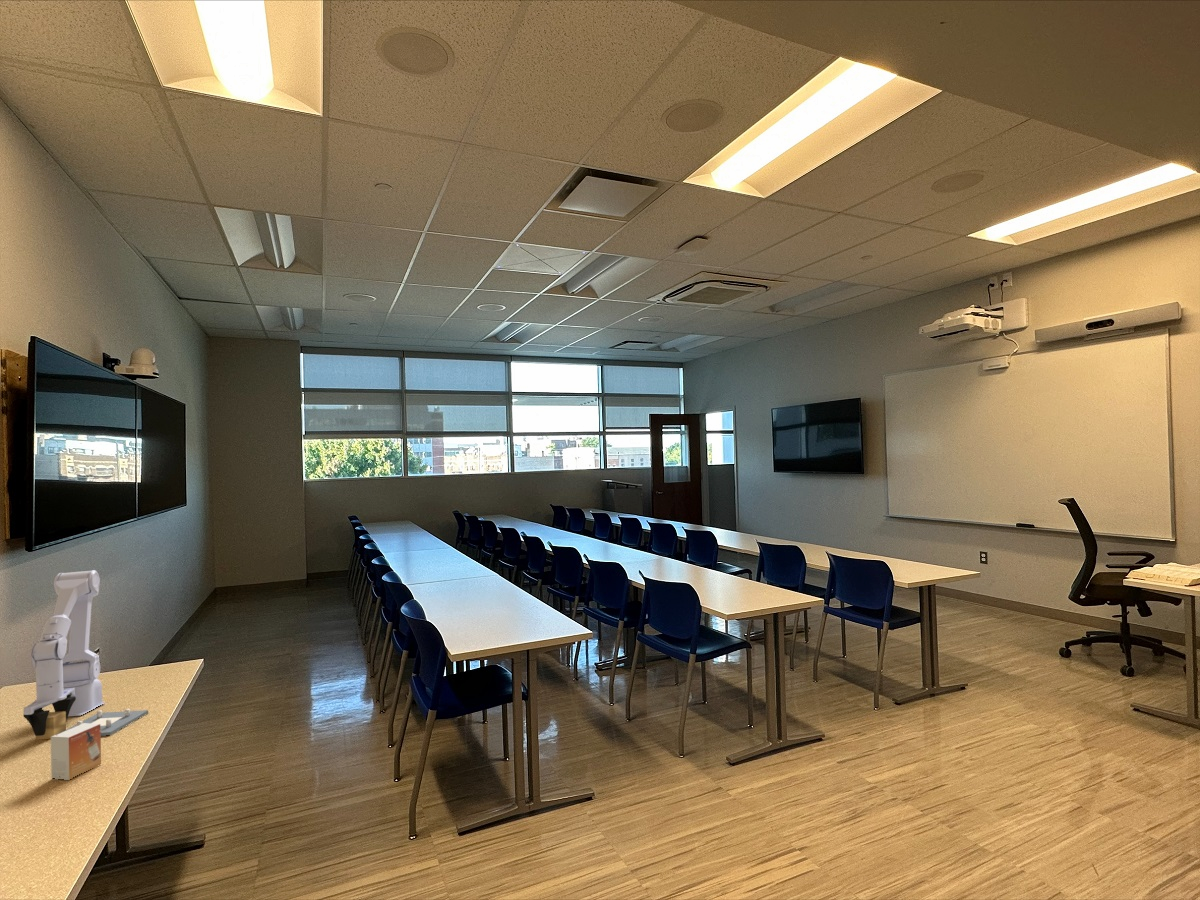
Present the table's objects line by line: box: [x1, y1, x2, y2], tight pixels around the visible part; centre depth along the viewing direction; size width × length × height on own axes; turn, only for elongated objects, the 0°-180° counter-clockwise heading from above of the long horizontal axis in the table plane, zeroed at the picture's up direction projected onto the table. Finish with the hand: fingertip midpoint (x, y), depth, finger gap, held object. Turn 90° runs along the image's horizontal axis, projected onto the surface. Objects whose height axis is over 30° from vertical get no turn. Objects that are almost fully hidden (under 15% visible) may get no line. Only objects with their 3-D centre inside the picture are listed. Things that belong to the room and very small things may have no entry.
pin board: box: [59, 708, 149, 737], centre depth 177 cm, size 15×15×3 cm
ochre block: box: [35, 711, 67, 740], centre depth 171 cm, size 4×5×6 cm
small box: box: [50, 723, 102, 781], centre depth 150 cm, size 8×6×10 cm
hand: (51, 729), depth 171 cm, fingers open, 6 cm apart
